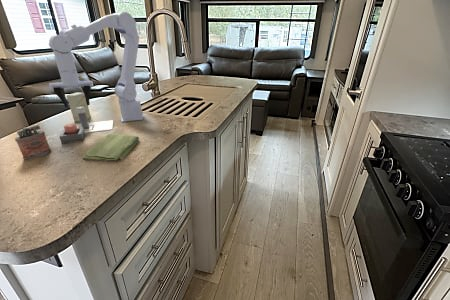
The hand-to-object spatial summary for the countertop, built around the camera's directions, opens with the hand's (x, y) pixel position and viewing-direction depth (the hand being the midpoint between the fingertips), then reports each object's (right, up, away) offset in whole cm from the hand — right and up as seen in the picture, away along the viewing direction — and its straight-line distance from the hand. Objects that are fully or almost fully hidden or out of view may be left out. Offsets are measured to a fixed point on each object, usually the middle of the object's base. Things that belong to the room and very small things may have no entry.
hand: (77, 105), depth 96 cm
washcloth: (+20, -18, -12) cm, 30 cm away
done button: (+1, -11, -5) cm, 12 cm away
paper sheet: (+1, -8, +7) cm, 11 cm away
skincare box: (-8, -4, +17) cm, 19 cm away
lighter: (-4, -20, -16) cm, 25 cm away
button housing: (+1, -13, -4) cm, 14 cm away
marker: (0, -9, +6) cm, 10 cm away
